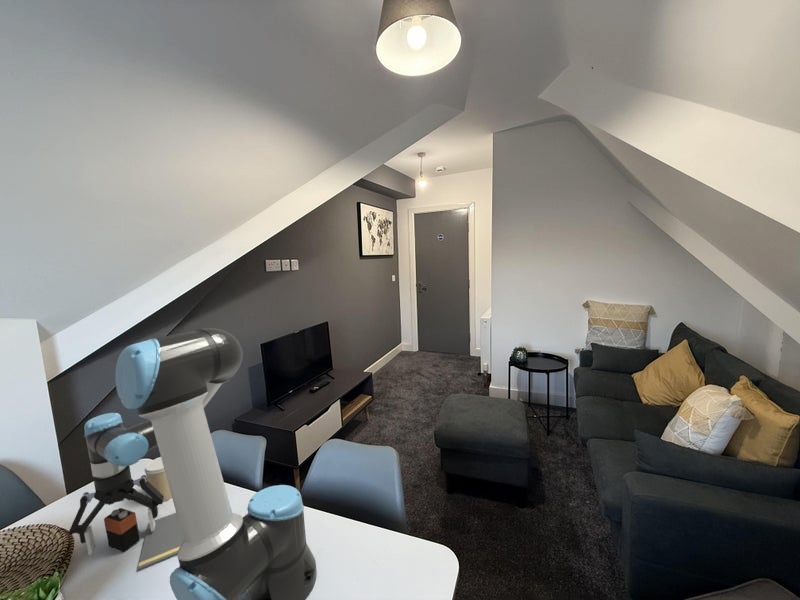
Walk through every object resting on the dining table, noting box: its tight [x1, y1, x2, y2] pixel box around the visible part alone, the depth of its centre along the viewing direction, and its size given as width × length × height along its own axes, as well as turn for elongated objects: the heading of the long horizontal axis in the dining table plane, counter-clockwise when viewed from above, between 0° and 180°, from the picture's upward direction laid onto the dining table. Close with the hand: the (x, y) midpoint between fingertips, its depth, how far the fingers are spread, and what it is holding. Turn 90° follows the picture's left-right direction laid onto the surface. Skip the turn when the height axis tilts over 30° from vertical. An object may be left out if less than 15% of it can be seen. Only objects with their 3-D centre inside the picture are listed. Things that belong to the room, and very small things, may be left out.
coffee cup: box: [144, 456, 172, 503], centre depth 110 cm, size 9×9×12 cm
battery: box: [103, 507, 141, 553], centre depth 91 cm, size 4×7×10 cm, turn 71°
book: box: [137, 512, 184, 572], centre depth 94 cm, size 18×14×1 cm
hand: (123, 538), depth 92 cm, fingers open, 13 cm apart
